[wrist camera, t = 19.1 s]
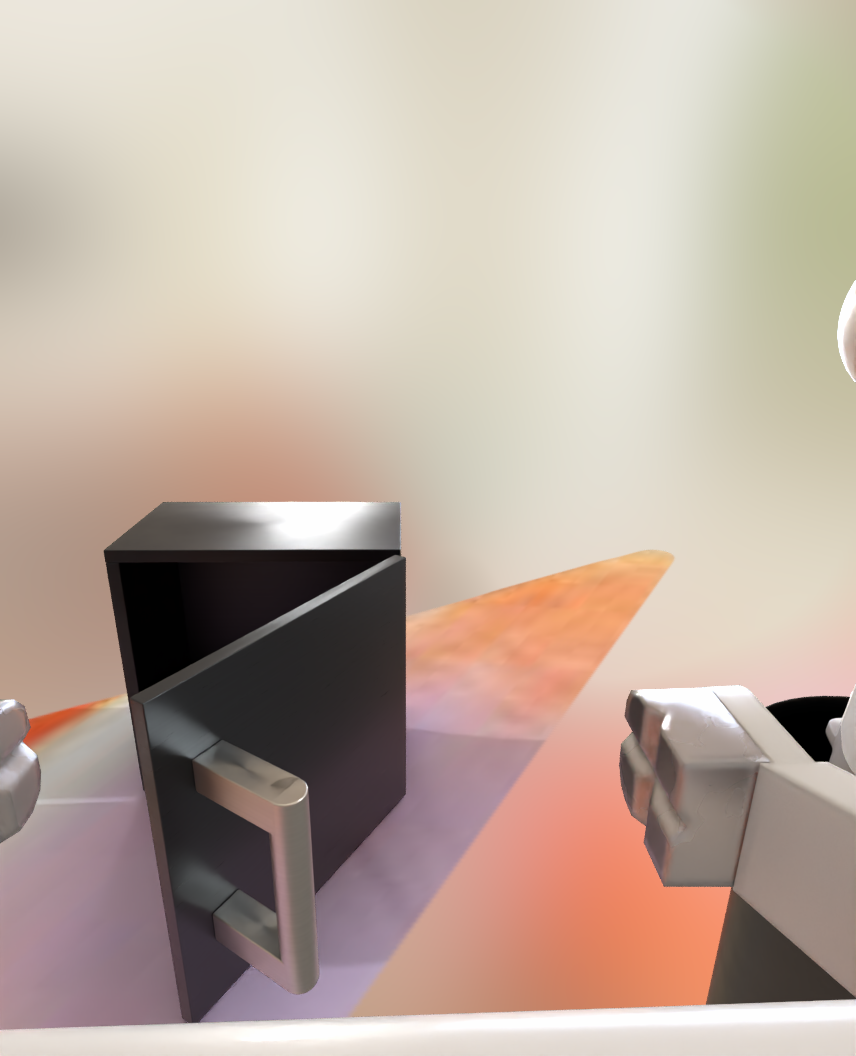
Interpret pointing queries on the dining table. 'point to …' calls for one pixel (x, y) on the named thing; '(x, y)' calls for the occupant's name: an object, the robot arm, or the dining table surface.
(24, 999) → the dining table surface
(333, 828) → the machine door
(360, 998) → the dining table surface
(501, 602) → the dining table surface
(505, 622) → the dining table surface
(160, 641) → the black box
